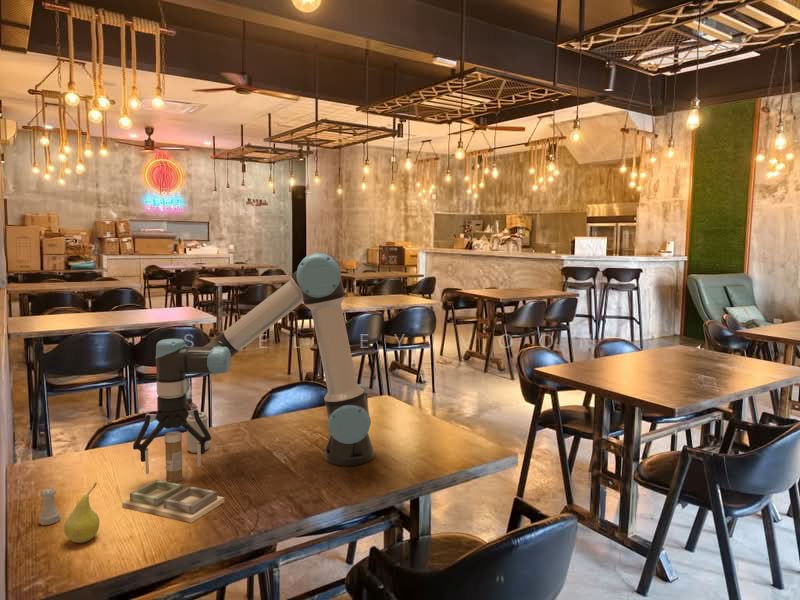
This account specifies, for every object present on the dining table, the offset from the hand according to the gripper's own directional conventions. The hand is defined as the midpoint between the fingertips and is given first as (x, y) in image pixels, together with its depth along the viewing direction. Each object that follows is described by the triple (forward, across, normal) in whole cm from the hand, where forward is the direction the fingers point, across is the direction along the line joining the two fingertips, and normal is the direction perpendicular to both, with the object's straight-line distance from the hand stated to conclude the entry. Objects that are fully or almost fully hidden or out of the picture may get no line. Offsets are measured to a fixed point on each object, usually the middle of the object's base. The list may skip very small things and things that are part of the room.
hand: (173, 468), depth 158 cm
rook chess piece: (+4, +28, +14) cm, 32 cm away
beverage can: (+4, -8, -22) cm, 24 cm away
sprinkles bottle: (+4, 0, 0) cm, 4 cm away
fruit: (+4, +20, +27) cm, 33 cm away
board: (+3, 0, +16) cm, 17 cm away
